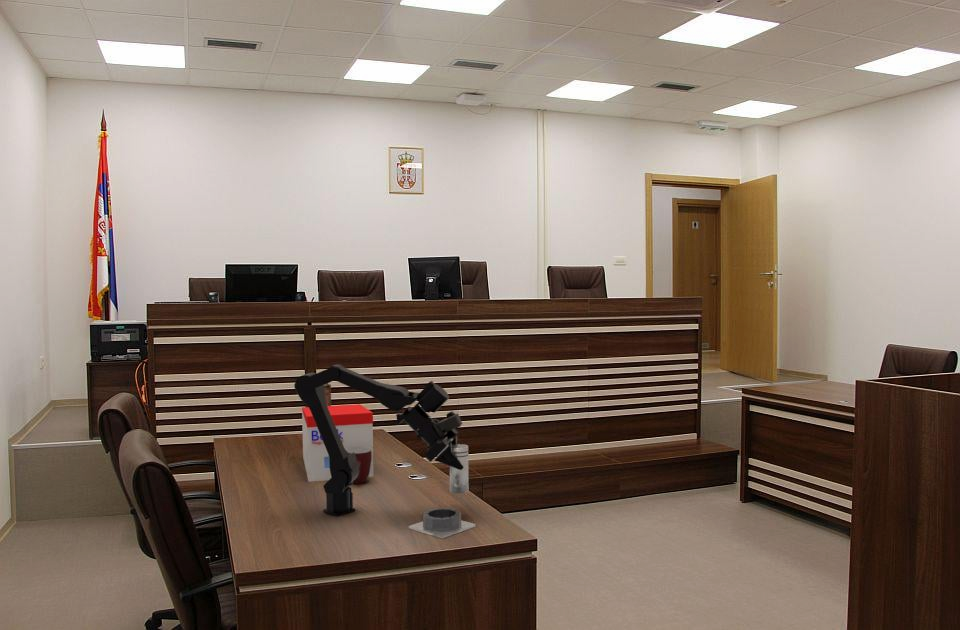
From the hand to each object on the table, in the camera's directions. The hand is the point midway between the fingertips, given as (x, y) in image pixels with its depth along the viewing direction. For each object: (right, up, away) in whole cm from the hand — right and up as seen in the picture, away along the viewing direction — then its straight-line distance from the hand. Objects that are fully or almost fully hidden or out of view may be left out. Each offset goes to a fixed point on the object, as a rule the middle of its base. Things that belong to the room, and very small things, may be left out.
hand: (464, 466), depth 200 cm
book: (-56, -10, +84) cm, 101 cm away
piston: (-1, -7, +1) cm, 7 cm away
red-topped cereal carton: (-45, -12, +56) cm, 73 cm away
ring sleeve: (-5, -14, -9) cm, 17 cm away
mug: (-33, -12, +34) cm, 49 cm away
